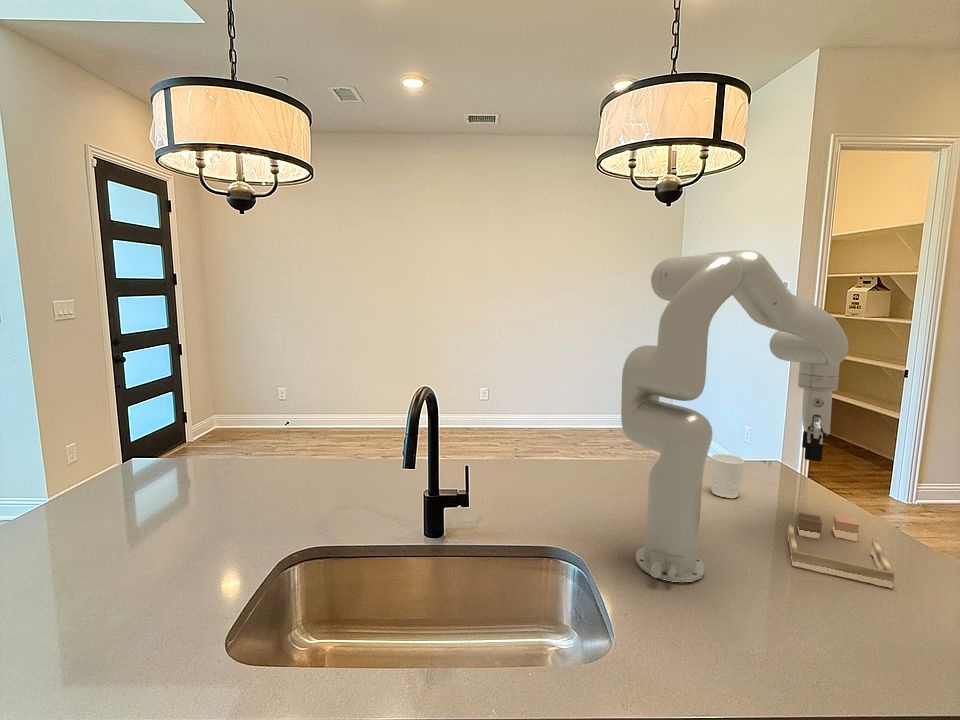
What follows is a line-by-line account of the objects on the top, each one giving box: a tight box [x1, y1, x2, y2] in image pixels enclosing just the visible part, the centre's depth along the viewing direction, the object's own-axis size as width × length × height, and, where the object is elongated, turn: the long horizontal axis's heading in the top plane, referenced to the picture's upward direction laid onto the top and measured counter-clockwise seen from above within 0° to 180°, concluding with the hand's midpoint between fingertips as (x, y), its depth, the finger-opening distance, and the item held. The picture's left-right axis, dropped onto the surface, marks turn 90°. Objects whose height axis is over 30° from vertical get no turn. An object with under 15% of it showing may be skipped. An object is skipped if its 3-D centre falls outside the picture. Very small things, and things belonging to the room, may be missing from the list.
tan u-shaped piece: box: [787, 523, 895, 583], centre depth 101 cm, size 14×16×3 cm
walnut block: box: [797, 512, 823, 534], centre depth 112 cm, size 4×4×4 cm
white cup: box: [710, 453, 745, 495], centre depth 134 cm, size 8×8×10 cm
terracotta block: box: [832, 513, 860, 534], centre depth 111 cm, size 4×4×4 cm
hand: (811, 454), depth 116 cm, fingers open, 9 cm apart
